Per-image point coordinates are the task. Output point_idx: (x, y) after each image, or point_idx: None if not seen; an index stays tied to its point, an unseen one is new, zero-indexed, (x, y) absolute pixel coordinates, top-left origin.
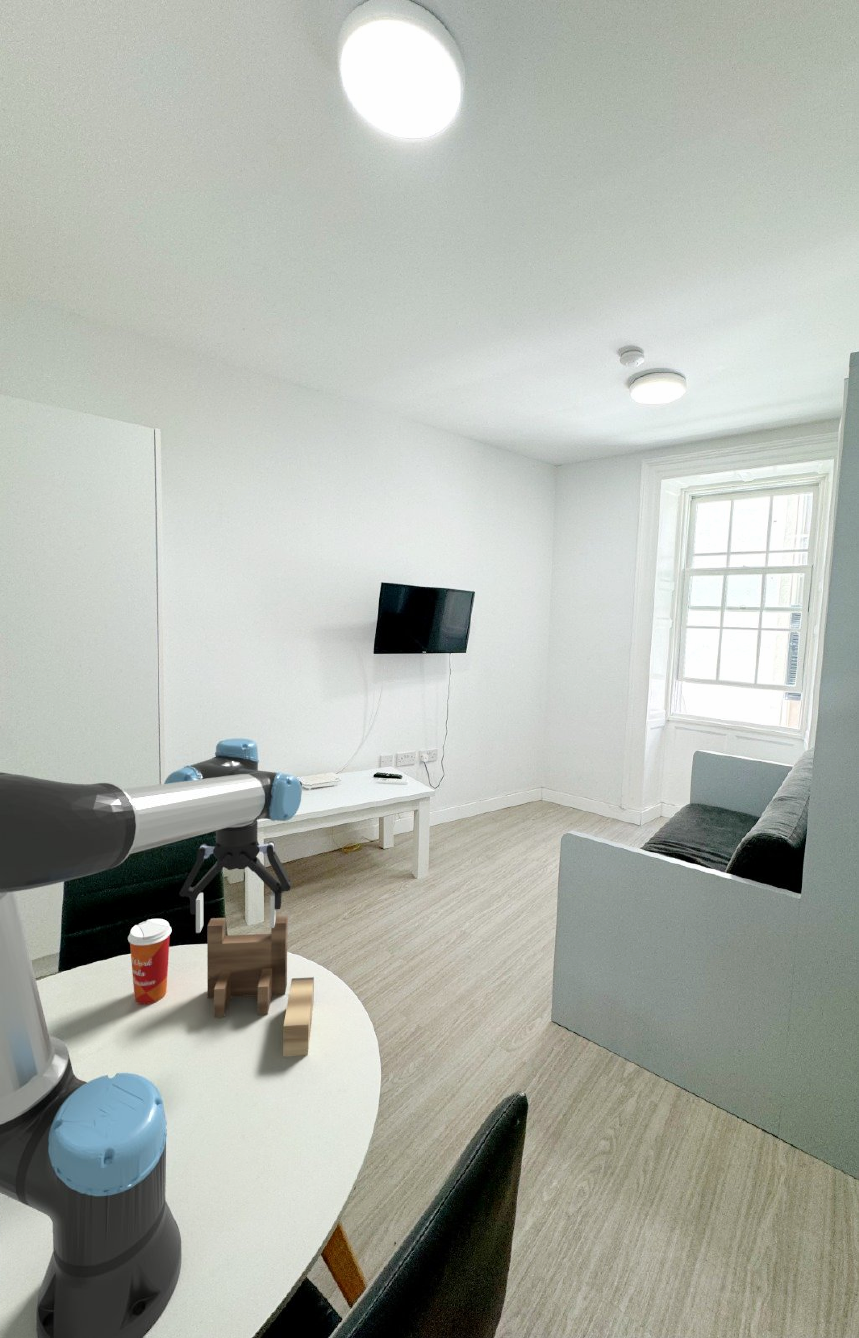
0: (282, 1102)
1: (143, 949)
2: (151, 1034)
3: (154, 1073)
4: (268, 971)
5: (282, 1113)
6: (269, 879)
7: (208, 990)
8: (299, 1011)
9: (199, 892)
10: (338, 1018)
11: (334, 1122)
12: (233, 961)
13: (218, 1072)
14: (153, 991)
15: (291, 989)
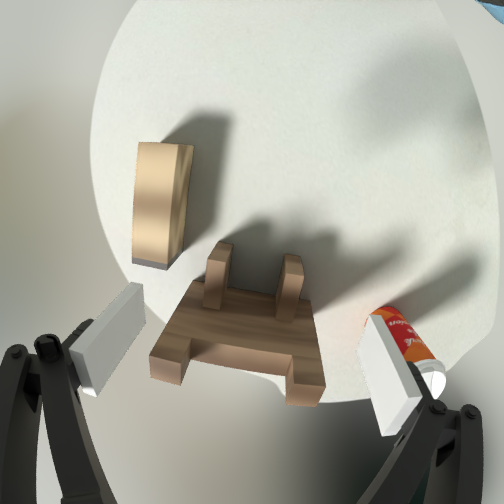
0: (198, 67)
1: (426, 355)
2: (384, 244)
3: (375, 163)
4: (208, 299)
5: (199, 52)
6: (47, 413)
7: (309, 306)
8: (151, 177)
9: (418, 424)
10: (118, 207)
11: (142, 38)
12: (270, 328)
13: (288, 136)
14: (386, 315)
15: (165, 240)
